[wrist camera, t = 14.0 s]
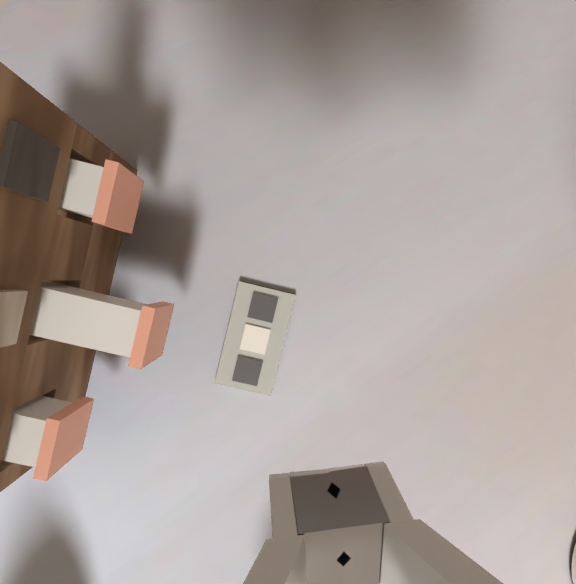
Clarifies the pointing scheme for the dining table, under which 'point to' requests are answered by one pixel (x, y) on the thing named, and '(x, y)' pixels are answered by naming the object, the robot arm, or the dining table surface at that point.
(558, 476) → the dining table surface
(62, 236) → the console
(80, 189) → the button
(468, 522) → the dining table surface
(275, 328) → the card
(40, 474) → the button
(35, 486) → the dining table surface
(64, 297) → the button middle
